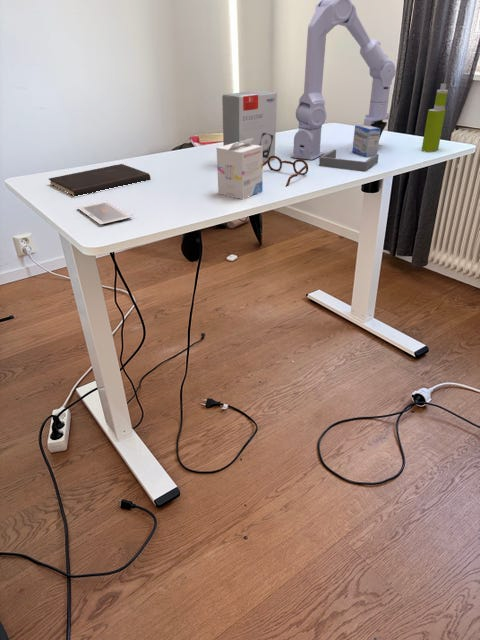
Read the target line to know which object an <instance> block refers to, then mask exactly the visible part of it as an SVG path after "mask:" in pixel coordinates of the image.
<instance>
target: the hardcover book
mask: <svg viewBox="0 0 480 640" xmlns="http://www.w3.org/2000/svg"><path fill="white" fill-rule="evenodd" d="M146 180H148V181H151V180H152V179H151V174H150V173H149V172H146V171H142V170H140V169H137V168H134V167H132V166H129V165H126V164H124V163H119V164H115V165H114V164H113V165H109V166H105V167H104V166H103V167H100V168H94V169H89V170H83V171H79V172H74V173H70V174H65V175H64V174H63V175H59V176H55V177H54V176H53V177H49V178H48V181H50V185H51V184H52V185H54V186H56V187H58V188H60V189H62V190H64V191H66V192H68V193H70V194H72V195H74V196H78V195H83V194H87V193H92V192H96V191H100V190H105V189H109V188H114V187H118V186H122V187H124V186H123V185H127V186H129V185H128V184H131V185H133V184H132V183H135V184H138V183H137V182H140V183H142V182H141V181H144V182H147V181H146ZM52 185H51V186H52ZM54 186H53V187H54ZM56 187H55V188H56ZM58 188H57V189H58ZM118 188H119V187H118ZM60 189H59V190H60ZM114 189H115V188H114ZM62 190H61V191H62ZM109 190H110V189H109ZM64 191H63V192H64ZM105 191H106V190H105ZM66 192H65V193H66ZM100 192H101V191H100ZM68 193H67V194H68ZM96 193H97V192H96ZM70 194H69V195H70ZM92 194H93V193H92ZM72 195H71V196H72ZM87 195H88V194H87ZM74 196H73V197H74ZM83 196H84V195H83Z"/></svg>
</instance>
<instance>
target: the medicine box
mask: <svg viewBox="0 0 480 640" xmlns="http://www.w3.org/2000/svg"><path fill="white" fill-rule="evenodd" d="M379 137H380V138H381V136H380V128H377V127H373V126H368V125H364V124H355V125H354V132H353V141H352V148H351V149H352V150H351V152H352V153H353V154H356V155H359V156H361V157H365V158H371V157H373V156H374V155H376V154H378V151H379V145H380V144H379V143H380V139H379Z"/></svg>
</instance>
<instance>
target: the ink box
mask: <svg viewBox="0 0 480 640" xmlns="http://www.w3.org/2000/svg"><path fill="white" fill-rule="evenodd" d="M253 139H254V138H250V139H247V140H244V141H240V142H236V143H232V144H228V145H225V146H223V145H222V146H218V147H216V163H217V166H216V168H217V193H218V194H219V193H220V195H222V194H224V195H223V196H226V195H228V196H227V197H230V196H233V197H232V198H234V197H237V198H236V199H238V198H241V199H240V200H244V199H243V198H245V199H247V198H246V197H248V196H250V197H252V196H254V195H253V194H255V195H257V194H259V193H262V192H263V181H264V180H263V167H264V166H263V163H264V162H263V146H259V145H252V144H250V143H251V141H252V140H253ZM243 142H245V143H243ZM261 191H262V192H261ZM258 192H259V193H258ZM256 193H257V194H256ZM251 195H252V196H251ZM248 198H249V197H248Z"/></svg>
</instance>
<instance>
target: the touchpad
mask: <svg viewBox="0 0 480 640" xmlns="http://www.w3.org/2000/svg"><path fill="white" fill-rule="evenodd" d="M76 208H77V209H79V210H80V211H81V212H82V213H84V214H85V215H87V216H88V217H89V218H91V220H94V221H95V222H97V223H98V224H99V225H104V224H109V223H113V222H117V221H122V220H124V219H125V220H126V219H130V218H133V217H134V216H133V215H131V214H130V213H128V212H126V211H125V210H123V209H121V208H120V207H118V206H117V205H115V204H114V203H112V202H110V201H109V200H104V201H103V200H102V201H98V202H95V203H89V204H85V205H79V206H76Z"/></svg>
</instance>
